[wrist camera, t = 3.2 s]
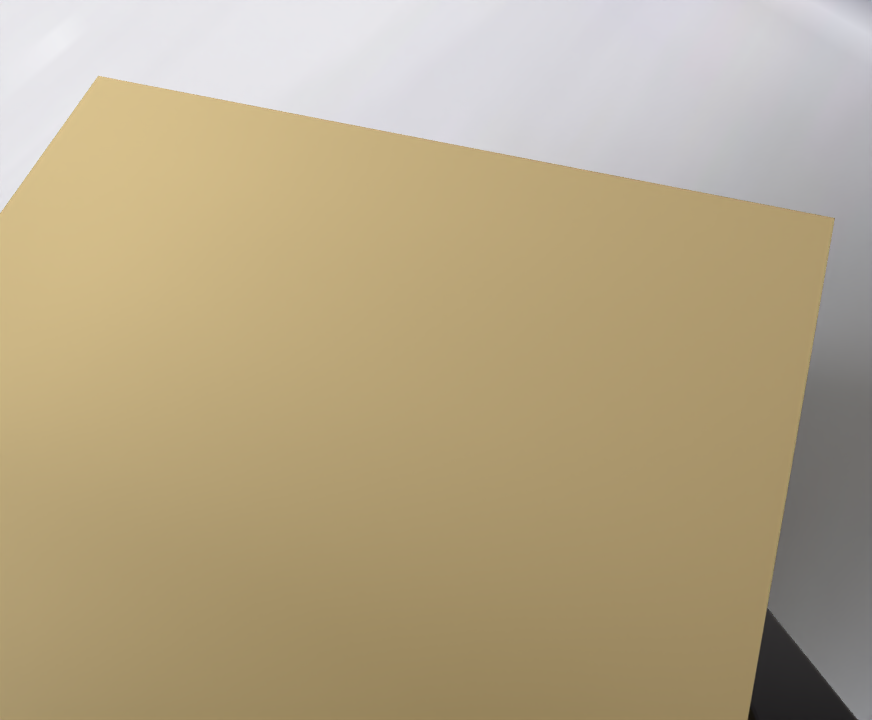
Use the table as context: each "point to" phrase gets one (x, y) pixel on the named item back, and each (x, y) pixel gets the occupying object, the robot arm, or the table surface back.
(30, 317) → the wooden block
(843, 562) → the table surface
